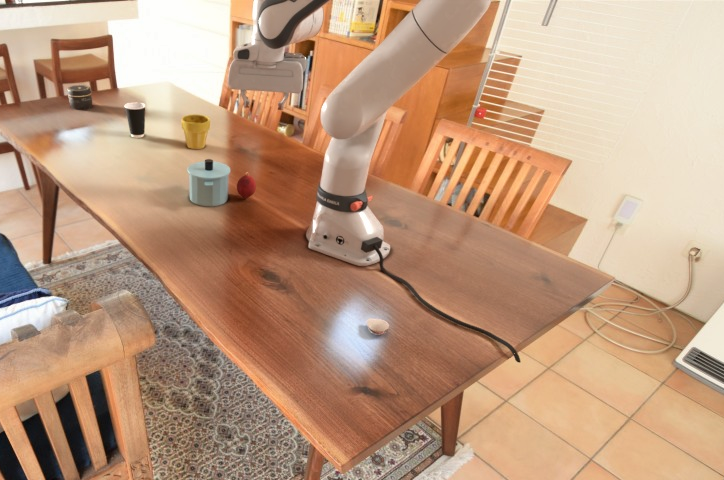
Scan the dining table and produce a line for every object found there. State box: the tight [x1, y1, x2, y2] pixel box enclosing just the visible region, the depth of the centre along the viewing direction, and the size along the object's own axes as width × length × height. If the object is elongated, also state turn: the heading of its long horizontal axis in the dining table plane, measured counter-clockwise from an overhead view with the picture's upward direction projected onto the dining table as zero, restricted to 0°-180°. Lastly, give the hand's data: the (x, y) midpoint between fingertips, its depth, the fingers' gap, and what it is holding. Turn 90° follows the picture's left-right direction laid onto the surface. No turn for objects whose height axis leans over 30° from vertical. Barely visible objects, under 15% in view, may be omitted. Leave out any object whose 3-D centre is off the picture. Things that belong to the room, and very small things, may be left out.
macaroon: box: [366, 318, 390, 336], centre depth 102 cm, size 4×5×2 cm
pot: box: [188, 173, 230, 207], centre depth 146 cm, size 12×17×8 cm
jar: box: [66, 84, 93, 111], centre depth 213 cm, size 10×10×8 cm
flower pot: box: [181, 114, 211, 150], centre depth 178 cm, size 10×10×10 cm
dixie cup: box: [123, 101, 147, 139], centre depth 185 cm, size 8×8×11 cm
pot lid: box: [186, 158, 231, 179], centre depth 142 cm, size 13×13×4 cm
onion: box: [236, 171, 257, 200], centre depth 146 cm, size 6×6×8 cm
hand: (263, 108), depth 136 cm, fingers open, 8 cm apart
